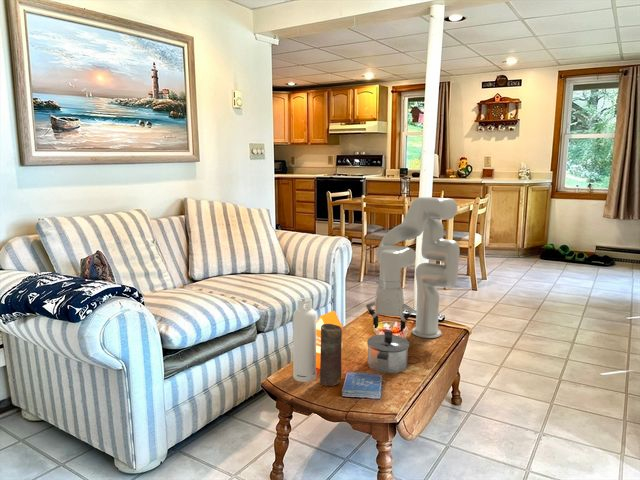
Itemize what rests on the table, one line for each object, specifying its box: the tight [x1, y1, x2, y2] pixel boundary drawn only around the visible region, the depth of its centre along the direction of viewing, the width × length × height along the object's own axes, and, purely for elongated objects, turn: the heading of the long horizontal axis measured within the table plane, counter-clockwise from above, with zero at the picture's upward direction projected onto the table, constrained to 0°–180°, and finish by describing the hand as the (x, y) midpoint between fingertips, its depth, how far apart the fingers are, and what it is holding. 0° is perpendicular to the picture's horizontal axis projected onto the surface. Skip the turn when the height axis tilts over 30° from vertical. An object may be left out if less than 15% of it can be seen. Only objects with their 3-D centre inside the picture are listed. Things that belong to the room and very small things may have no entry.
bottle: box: [292, 297, 318, 383], centre depth 164 cm, size 8×8×28 cm
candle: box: [319, 324, 343, 386], centre depth 161 cm, size 8×7×20 cm
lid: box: [366, 329, 410, 353], centre depth 175 cm, size 15×15×5 cm
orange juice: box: [316, 310, 343, 370], centre depth 175 cm, size 8×9×20 cm
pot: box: [367, 345, 409, 374], centre depth 176 cm, size 19×14×8 cm
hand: (389, 328), depth 175 cm, fingers open, 9 cm apart
